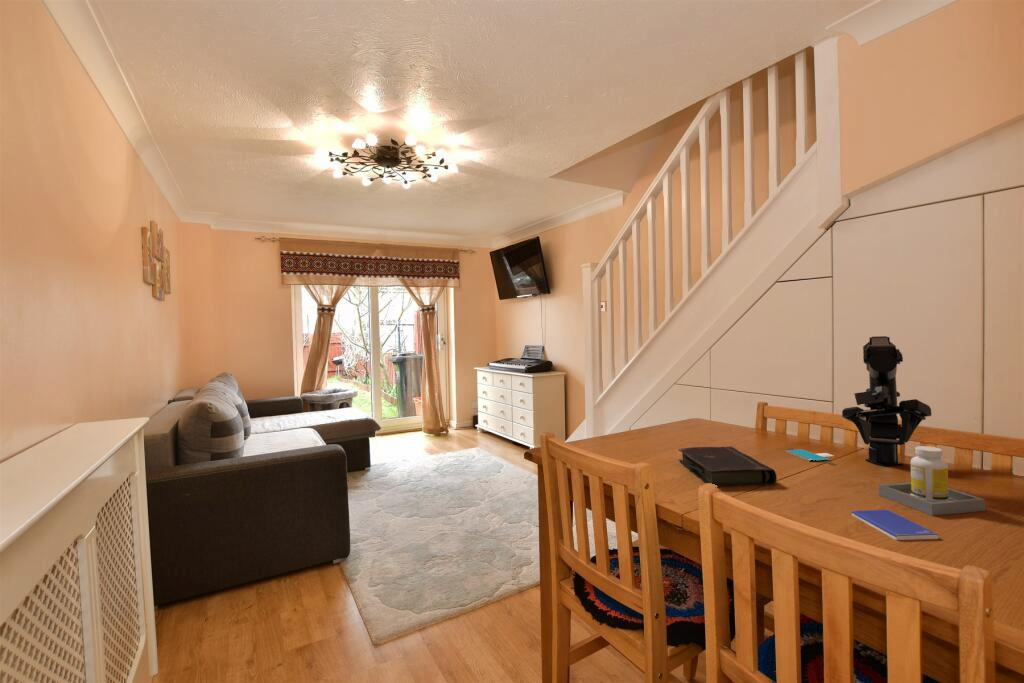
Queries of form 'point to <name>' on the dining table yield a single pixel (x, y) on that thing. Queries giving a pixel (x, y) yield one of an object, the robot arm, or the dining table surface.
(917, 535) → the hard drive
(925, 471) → the pill bottle
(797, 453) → the teal flat slab
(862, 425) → the robot arm
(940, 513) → the holder tray
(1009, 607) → the dining table surface
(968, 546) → the dining table surface
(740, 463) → the diary
